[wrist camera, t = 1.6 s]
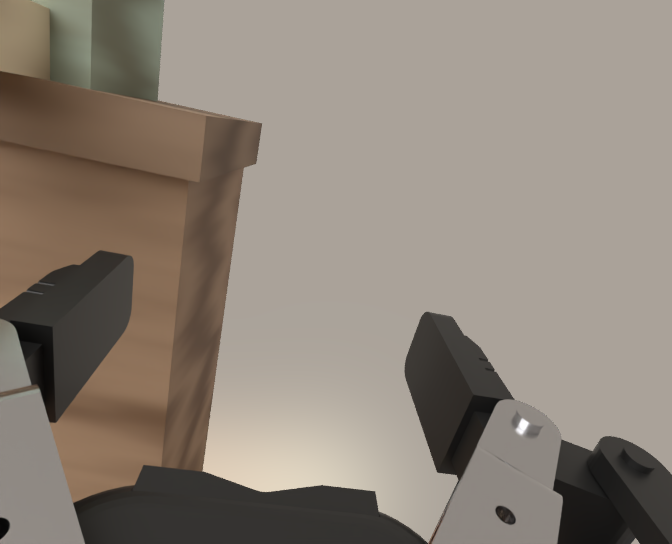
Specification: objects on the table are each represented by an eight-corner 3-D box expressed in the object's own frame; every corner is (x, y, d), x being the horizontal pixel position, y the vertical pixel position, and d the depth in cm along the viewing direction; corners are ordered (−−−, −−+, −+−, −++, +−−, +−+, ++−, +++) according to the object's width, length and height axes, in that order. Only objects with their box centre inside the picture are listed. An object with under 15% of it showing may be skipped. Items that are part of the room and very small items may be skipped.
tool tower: (141, 737, 22) (206, 115, 12) (-109, 701, 22) (-253, 14, 12) (197, 570, 31) (262, 123, 21) (19, 541, 30) (-1, 65, 20)
